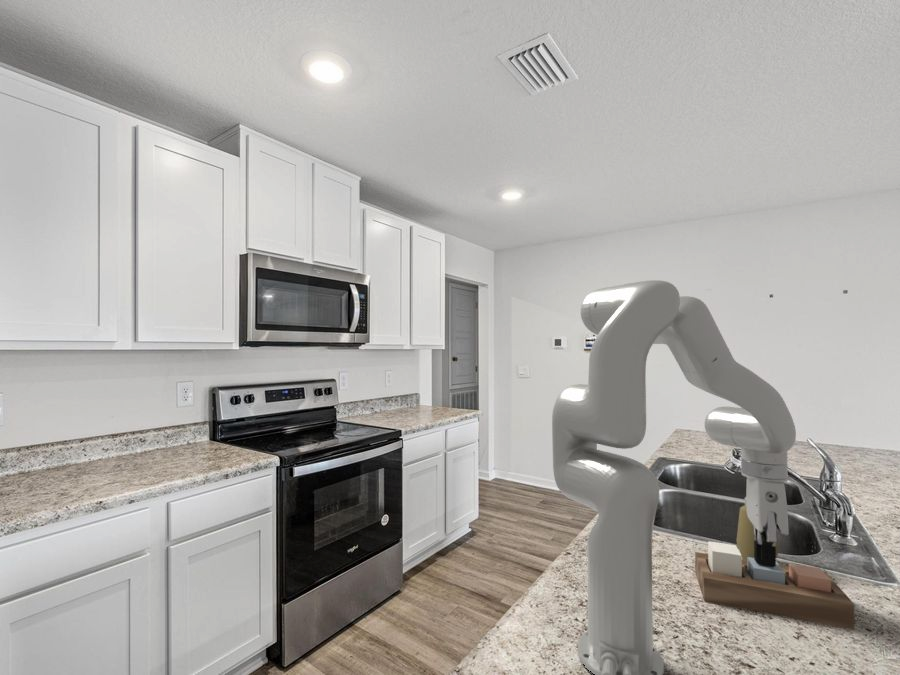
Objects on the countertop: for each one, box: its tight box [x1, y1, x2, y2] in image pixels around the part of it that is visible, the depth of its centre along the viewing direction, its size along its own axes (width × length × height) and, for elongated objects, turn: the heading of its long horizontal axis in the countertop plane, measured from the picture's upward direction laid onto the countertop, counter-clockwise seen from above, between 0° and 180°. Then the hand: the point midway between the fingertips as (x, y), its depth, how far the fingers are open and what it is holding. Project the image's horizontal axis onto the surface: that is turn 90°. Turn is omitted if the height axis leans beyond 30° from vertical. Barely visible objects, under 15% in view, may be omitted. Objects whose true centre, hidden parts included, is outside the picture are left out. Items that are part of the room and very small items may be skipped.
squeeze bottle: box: [735, 496, 780, 560], centre depth 102 cm, size 8×8×18 cm
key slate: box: [747, 557, 785, 585], centre depth 87 cm, size 5×5×5 cm
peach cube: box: [788, 563, 831, 592], centre depth 85 cm, size 5×5×5 cm
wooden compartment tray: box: [694, 551, 855, 631], centre depth 87 cm, size 12×23×4 cm, turn 68°
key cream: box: [707, 541, 742, 577], centre depth 90 cm, size 5×5×5 cm
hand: (764, 563), depth 87 cm, fingers closed
